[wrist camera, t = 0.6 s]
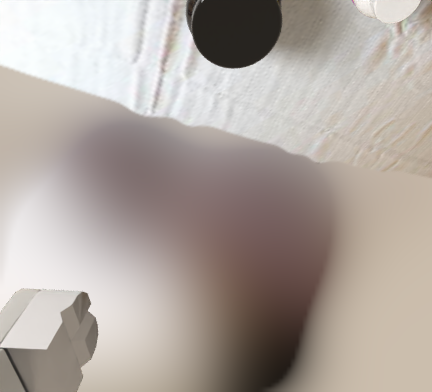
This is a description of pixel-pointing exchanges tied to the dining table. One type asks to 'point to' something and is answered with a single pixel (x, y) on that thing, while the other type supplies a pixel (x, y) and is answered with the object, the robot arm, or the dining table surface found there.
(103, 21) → the dining table surface
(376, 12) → the supplement bottle
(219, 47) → the supplement container
